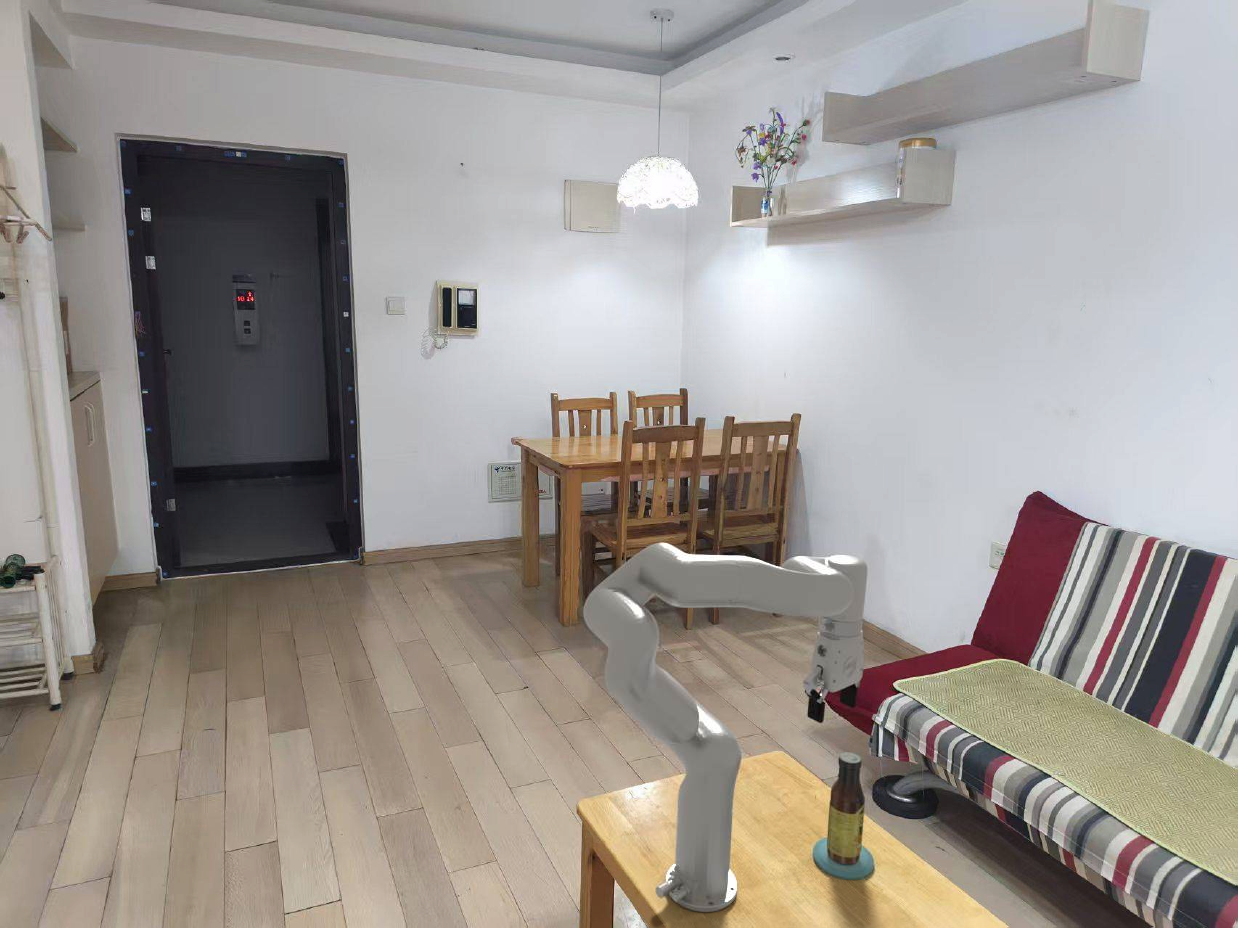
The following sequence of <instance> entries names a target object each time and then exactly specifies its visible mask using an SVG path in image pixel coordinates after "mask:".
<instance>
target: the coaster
mask: <svg viewBox="0 0 1238 928" xmlns="http://www.w3.org/2000/svg"><path fill="white" fill-rule="evenodd" d="M812 858H813V860H814V863H815V864H816V865H817V867H819V869H821V870H822V871H823V872H825V873H826V874H828V875H830V876H833V877H835V878H837V879H841V880H846V881H847V880H848V881H855V880H856V881H857V880H862V879H865V878H867V877H868V876H870V875H871V873H872V872H873V870H874V867H875V866H874V865H875V860H874V857H873V855H872V853H871V852H870V850H869V849H868V848H866V847H865V846H864V845H862V847H861V853H860V857H859V860H858V862H857V863H855V864H853V865H844V864H840V863H837V862H835V861H833V860H832V859H831V858H830V857H829V856H828V853H827V837H824V838H822V839H819V840H818V841H816V843H815V844H814V846H813V848H812Z"/></svg>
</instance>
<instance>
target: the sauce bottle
mask: <svg viewBox="0 0 1238 928" xmlns="http://www.w3.org/2000/svg"><path fill="white" fill-rule="evenodd" d="M862 764H863V763H862V758H861V756H860V755H859V754H856V753H854V752H850V751H849V752H848V751H845V752H842V753H840V754H839V755H838V767H839V768H838V774H837V779H836V780H835V781H834V783H833V784H832V787H831V789H830V800H829V805H828V821H827V837H826V838H827V853H828V856H829V857H830V858H831V859H832V860H833V861H835V862H837V863H840V864H844V865H853V864H855V863H857V862H858V860H859V857H860V853H861V847H862V844H863V843H862V842H863V834H864V833H863V832H864V831H863V830H864V823H865V822H864V820H865V808H866V807H865V806H866V805H865V804H866V798H865V795H864V790H863V787H862V785H861V779H860V778H861V775H860V774H861V767H862Z"/></svg>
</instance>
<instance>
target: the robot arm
mask: <svg viewBox="0 0 1238 928" xmlns="http://www.w3.org/2000/svg"><path fill="white" fill-rule="evenodd" d="M868 572H869V570H868V565H867V563H866V561H864V560H863V559H862V558H860V557H856V556H853V555H847V554H836V555H830V556H829V557H822V556H820V557H819V556H809V555H807V556H806V555H800V556H798V555H797V556H793V557H791V558H789V559H786V561H784V562H783V563H782V564H781V565H780V566H776V565H774V564H771V563H769V562H765V561H763V560H762V559H761V560H760V559H758V558H755V557H750V556H745V555H729V554H728V555H727V554H726V555H724V554H723V555H722V554H721V555H720V554H719V555H718V554H717V555H715V554H694V553H693V554H690V553H686V552H684V551H682V550H681V549H679V548H677V547H676V546H674V545H672V544H670V543H666V542H657V543H653V544H650V545H648V546H647V547H645V548H643V549H642V550H640V551H639V552H637V553H636V554H635V555H633V556H631V558H630V559H628V560H627V561H626V562H625V563H623V564H622V565H621V566H620V567H619V568H617V569H616V570H615V571H614V572H612V573H611V574H610V575H609V576H607V577H606V578H605V579H604V580H603V581H602V582H600V583H599V584H598V585H597V586H596V587H595V588H594V589H593V590H592V591H591V592H590V593H589V594H588V596H587V598H586V600H585V603H584V606H583V612H582V613H583V619H584V622H585V625H586V626H587V628H588V629H589V630H590V631H591V632H592V633H593V634H594V635H595V636H596V637H597V639H599V640H600V641H601V642H602V643H603V644H604V645H605V646H606V647H607V648H608V650H607V651H608V652H607V657H606V663H605V668H604V683H605V686H606V688H607V691H608V692H609V693H610V695H611V696H612V697H613V698H614V699H615V701H617V703H619V704H620V705H621V706H623V708H624V709H626V711H627V712H628V713H629V714H630V716H632V718H634V719H635V720H636V722H638V724H639V725H640V726H641V727H642V728H643V729H644V730H645V731H646V732H648V734H650V735H651V736H652V737H653V738H656V739H657V740H659V741H661V742H662V743H663V744H664V745H666V747H667V748H668V749H669V750H670V751H671V752H672V753H673V754H674V755H675V757H676V758H677V759H678V760H679V761H680V763H682V764H683V766H684V768H685V776H684V778H683V780H682V781H681V784H680V786H679V788H678V793H677V816H676V817H677V818H676V836H675V837H676V839H675V859H674V861H675V862H674V864H672V866H671V867H669V869H668V871H667V872H666V876H665V882H663V883H661V884H659V885H657V886H656V887H655V893H656V895H657V897H658V898H659V899H663V898H665V897H666V896H668V895H669V897H670V898H671V899H672V900H673V901H674V902H675V903H676V904H678V905H680V906H682V907H683V908H685V909H688V910H691V911H694V912H700V913H709V912H718V911H721V910H722V909H725V908H726V907H728V906H730V905H731V904H732V903H733V901H735V898H736V897H737V893H738V882H737V879H736V876H735V875H734V873H733V872H732V871H731V869H730V863H731V851H732V850H731V848H732V847H731V846H732V845H731V844H732V832H733V830H732V828H733V815H734V814H733V813H734V812H733V811H734V796H735V788H736V787H735V786H736V782H737V778H738V774H739V770H740V767H741V763H742V748H741V745H740V743H739V740H738V739H737V737H736V736H735V734H734V733H733V731H731V730H730V728H728V726H726V724H724V723H723V722H722V721H721V720H720V719H718V717H716V716H715V715H714V714H712V713H711V712H710V711H709V710H708V709H707V708H705V707H704V706H703V705H702V704H701V703H700V702H699V701H698V700H696V698H694V697H693V696H692V695H691V694H690V692H689V691H688V690H687V689H686V688H685V687H684V686H683V685H682V684H681V683H680V682H679V681H677V680H676V679H675V677H673V676H672V675H671V674H669V673H668V672H667V670H665V669H663V667H660V666H659V665H658V664H657V663H656V657H657V652H658V648H659V642H660V629H659V625H658V622H657V621H656V618H655V616H654V615H653V614H652V613H651V612H650V610H649V609H648V608H646V607H645V606H644V605H645V604H646V603H648V602H649V601H650V600H651V599H652V598H653V597H654V596H657V597H658V598H659V599H660V600H662V602H664V603H666V604H668V605H671V606H673V607H676V608H683V609H684V608H686V609H687V608H689V609H693V608H694V609H695V608H703V609H704V608H744V609H749V610H753V611H758V612H765V613H770V614H777V615H784V616H788V617H796V618H818V626H817V627H818V628H817V629H818V632H817V635H816V638H815V639H816V640H815V644H814V648H813V654H812V661H811V667H810V668H811V669H810V673H809V674H808V675H807V677H805V679H803V682H802V685H803V687H804V693H805V694H806V697H807V698H808V703H807V704H808V705H807V712H806V713H807V717H808V718H809V719H811V720H813V721H815V722H817V723H819V724H822V723H824V720H825V712H826V702H825V701H824V700H825V697H826V696H827V694H828V692H830V693H835V692H838V691H840V695H839V702H840V703H841V704H843V705H846V706H847V707H849V708H851V709H854V708H856V707H857V699H858V688H859V687H860V685H861V680H862V678H863V675H864V668H865V666H866V662H867V660H866V659H865V658H864V657H865V655H864V654H865V646H864V645H865V642H864V633H863V630H862V628H863V620H864V610H865V601H866V591H867V580H868ZM818 688H820V689H821V691H820V693H818V691H817V690H818Z"/></svg>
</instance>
